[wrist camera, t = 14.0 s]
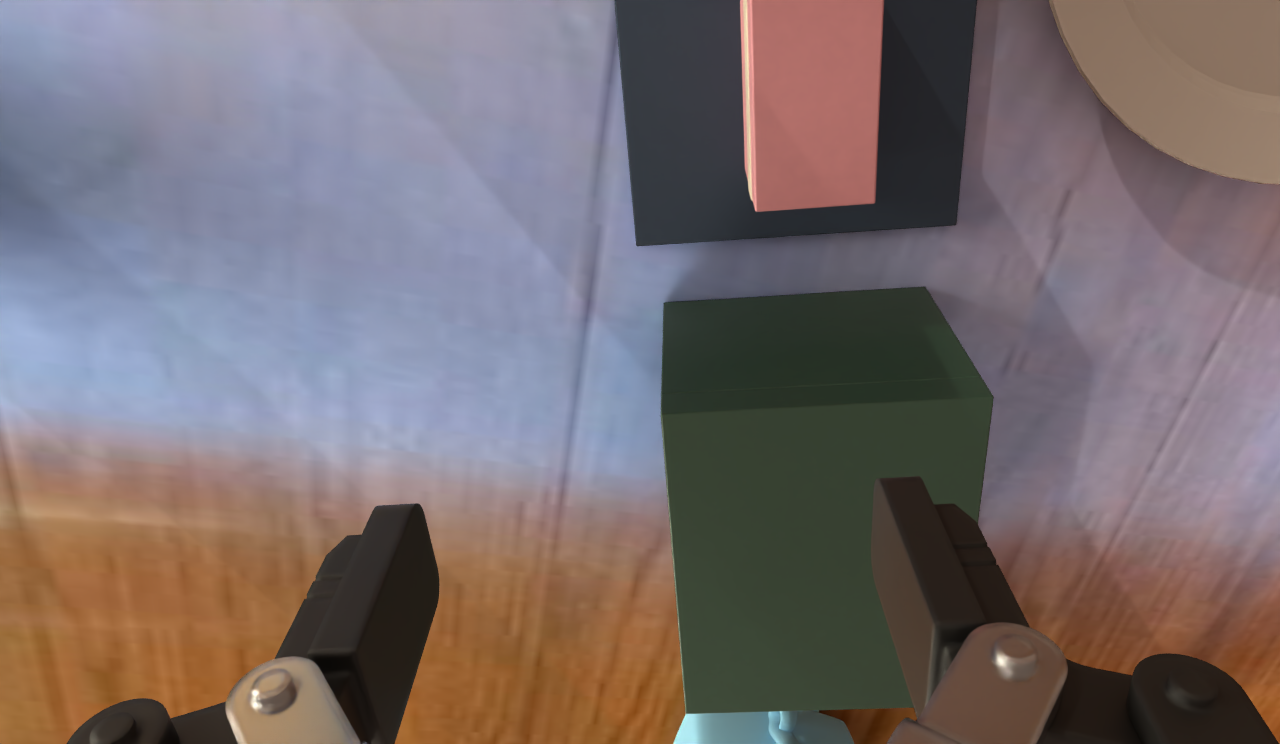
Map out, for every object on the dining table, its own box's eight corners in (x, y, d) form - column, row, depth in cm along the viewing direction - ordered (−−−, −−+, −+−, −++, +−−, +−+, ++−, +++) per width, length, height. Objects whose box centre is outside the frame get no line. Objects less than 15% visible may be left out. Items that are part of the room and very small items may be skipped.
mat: (636, 242, 40) (636, 246, 40) (605, -109, 33) (604, -109, 33) (953, 221, 39) (956, 225, 39) (986, -145, 32) (991, -146, 32)
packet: (743, 171, 38) (753, 214, 33) (737, -37, 34) (747, -24, 29) (850, 163, 38) (876, 205, 33) (856, -48, 34) (887, -36, 29)
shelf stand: (683, 566, 49) (685, 714, 40) (663, 302, 41) (660, 413, 33) (904, 557, 48) (955, 707, 39) (925, 286, 41) (994, 396, 32)
